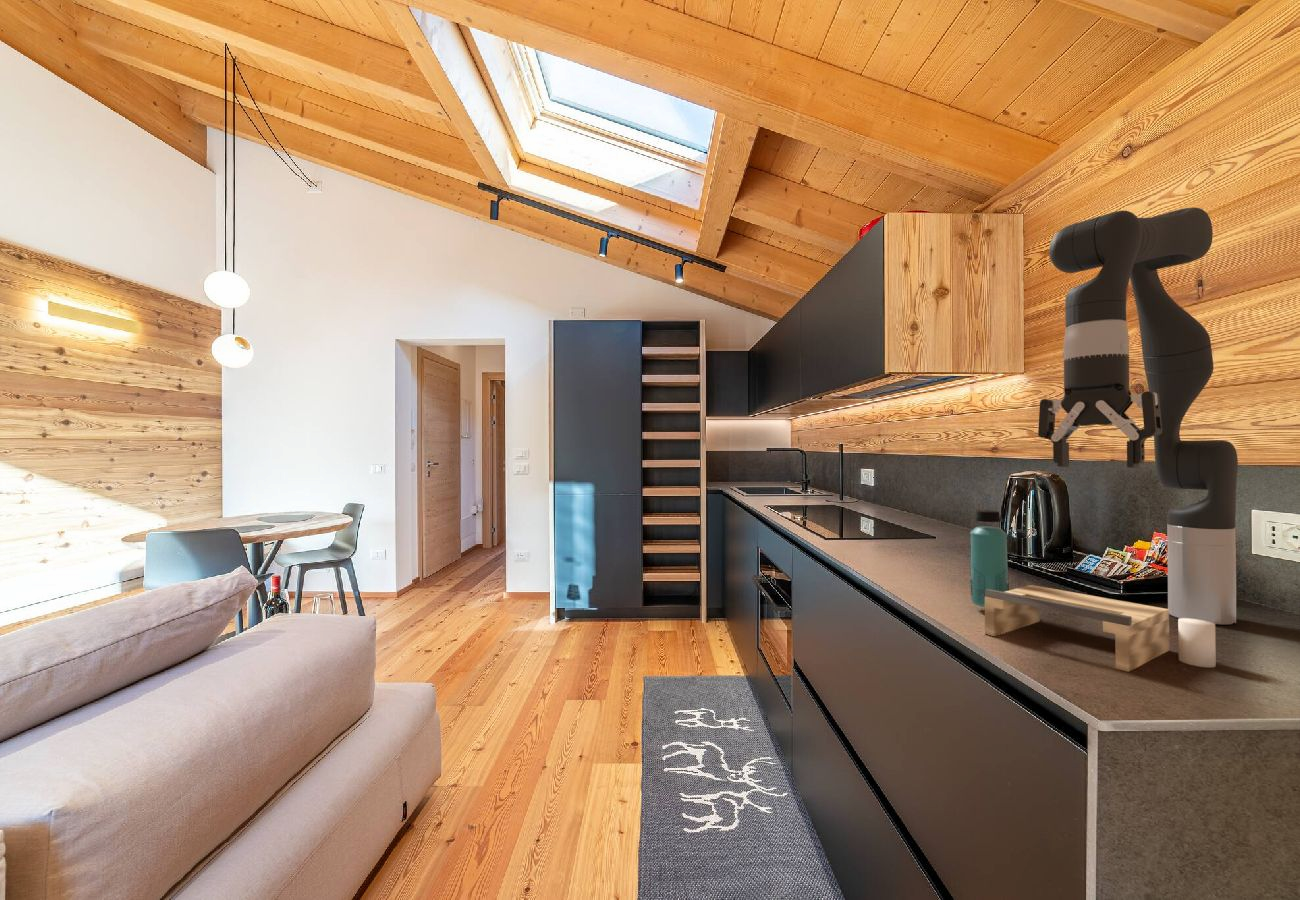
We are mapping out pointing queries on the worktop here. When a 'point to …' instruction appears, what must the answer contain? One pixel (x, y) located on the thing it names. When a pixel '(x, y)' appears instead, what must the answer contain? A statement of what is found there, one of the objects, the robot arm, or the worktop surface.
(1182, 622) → the white cylinder
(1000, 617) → the shelf
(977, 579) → the beverage bottle
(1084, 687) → the worktop surface
